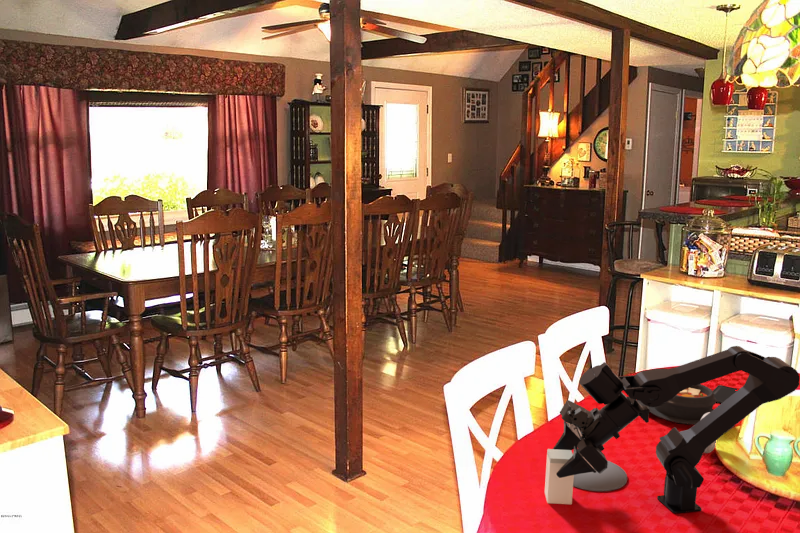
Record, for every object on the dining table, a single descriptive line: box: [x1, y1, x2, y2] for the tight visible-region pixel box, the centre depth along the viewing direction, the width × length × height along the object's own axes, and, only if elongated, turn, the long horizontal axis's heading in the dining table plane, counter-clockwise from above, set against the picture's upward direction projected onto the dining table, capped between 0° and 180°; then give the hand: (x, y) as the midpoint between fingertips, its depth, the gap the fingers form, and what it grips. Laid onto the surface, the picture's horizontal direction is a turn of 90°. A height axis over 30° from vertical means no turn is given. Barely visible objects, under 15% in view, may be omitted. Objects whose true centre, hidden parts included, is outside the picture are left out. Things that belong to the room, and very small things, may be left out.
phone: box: [712, 384, 738, 403], centre depth 213 cm, size 8×1×15 cm
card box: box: [544, 448, 574, 505], centre depth 150 cm, size 5×4×10 cm
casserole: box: [637, 384, 718, 426], centre depth 196 cm, size 25×19×8 cm
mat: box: [573, 460, 628, 492], centre depth 162 cm, size 16×16×1 cm
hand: (554, 465), depth 149 cm, fingers open, 9 cm apart
